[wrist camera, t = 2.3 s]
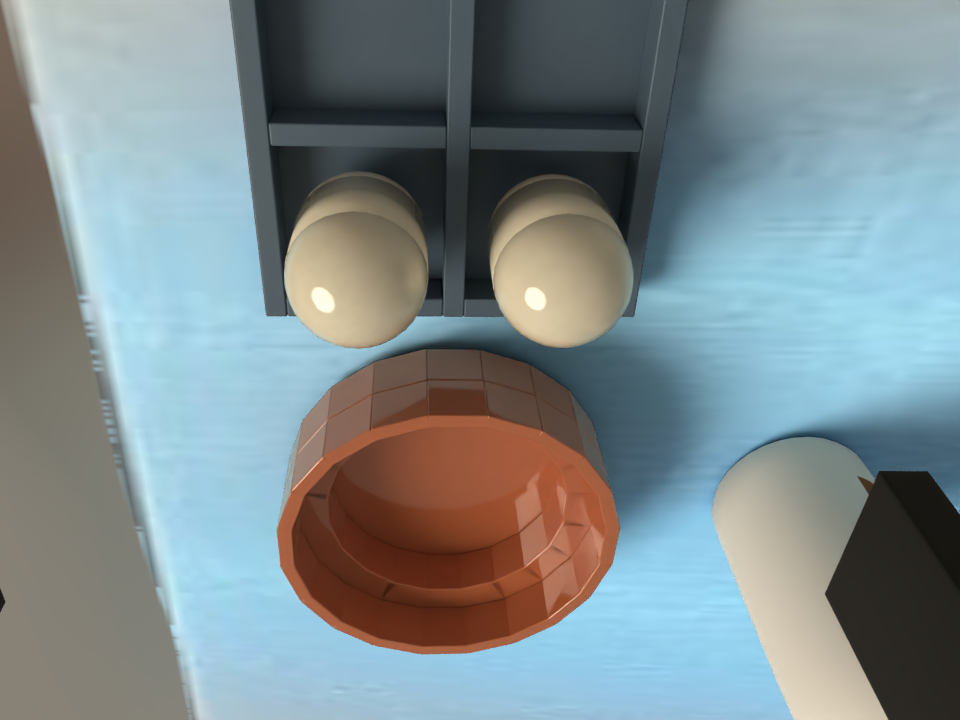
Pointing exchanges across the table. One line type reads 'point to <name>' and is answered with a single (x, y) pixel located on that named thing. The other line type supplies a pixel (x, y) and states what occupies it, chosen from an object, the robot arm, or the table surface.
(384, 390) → the bowl
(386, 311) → the cream egg
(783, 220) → the table surface
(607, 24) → the egg tray
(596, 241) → the cream egg
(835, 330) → the table surface
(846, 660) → the milk bottle
